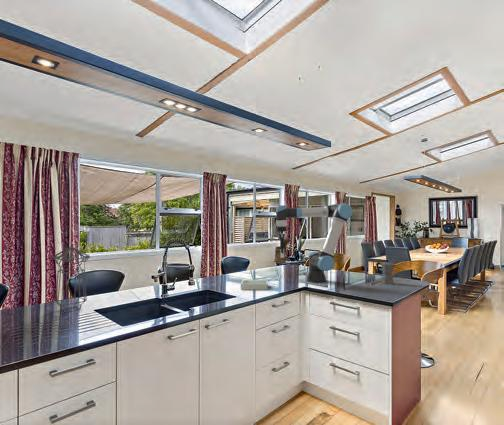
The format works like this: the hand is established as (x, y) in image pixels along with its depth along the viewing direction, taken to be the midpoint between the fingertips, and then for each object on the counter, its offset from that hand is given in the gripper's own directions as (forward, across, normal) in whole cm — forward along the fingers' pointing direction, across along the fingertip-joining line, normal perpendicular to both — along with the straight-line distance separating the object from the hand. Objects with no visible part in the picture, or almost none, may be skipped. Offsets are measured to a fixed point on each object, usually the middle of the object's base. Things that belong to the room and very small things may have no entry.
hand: (282, 256), depth 238 cm
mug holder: (+21, +5, -20) cm, 30 cm away
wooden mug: (+4, -1, 0) cm, 4 cm away
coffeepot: (+23, -15, +79) cm, 84 cm away
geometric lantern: (+20, +67, -120) cm, 139 cm away
